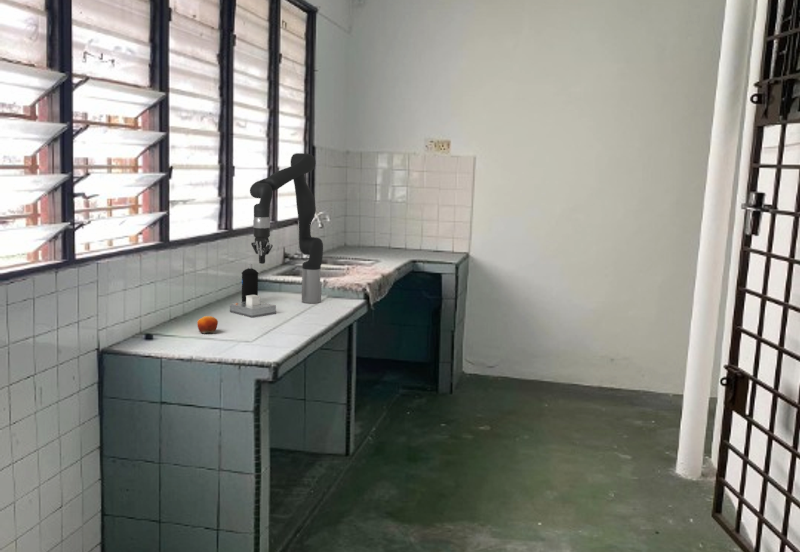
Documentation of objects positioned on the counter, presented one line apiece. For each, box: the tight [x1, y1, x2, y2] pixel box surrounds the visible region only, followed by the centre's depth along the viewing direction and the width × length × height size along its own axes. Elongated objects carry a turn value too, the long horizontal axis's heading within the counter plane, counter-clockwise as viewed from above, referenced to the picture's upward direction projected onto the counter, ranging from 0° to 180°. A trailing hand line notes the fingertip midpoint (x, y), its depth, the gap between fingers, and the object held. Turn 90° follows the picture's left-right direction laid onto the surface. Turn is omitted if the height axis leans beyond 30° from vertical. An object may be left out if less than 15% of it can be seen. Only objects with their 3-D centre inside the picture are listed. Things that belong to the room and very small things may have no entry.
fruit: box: [196, 315, 219, 335], centre depth 293 cm, size 8×8×8 cm
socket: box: [229, 301, 277, 319], centre depth 335 cm, size 14×16×5 cm
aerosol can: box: [241, 263, 259, 302], centre depth 354 cm, size 8×8×20 cm
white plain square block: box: [246, 295, 261, 306], centre depth 335 cm, size 4×4×7 cm
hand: (262, 263), depth 337 cm, fingers closed
